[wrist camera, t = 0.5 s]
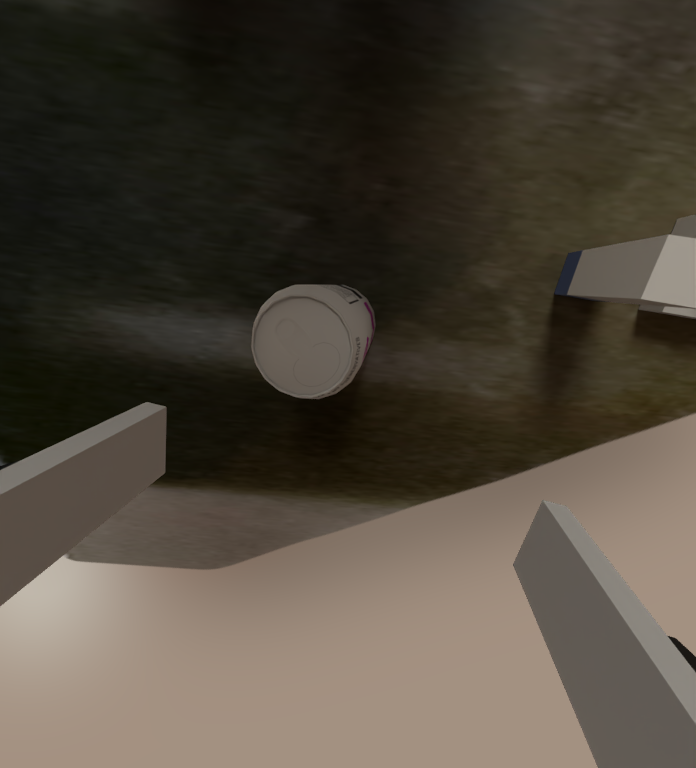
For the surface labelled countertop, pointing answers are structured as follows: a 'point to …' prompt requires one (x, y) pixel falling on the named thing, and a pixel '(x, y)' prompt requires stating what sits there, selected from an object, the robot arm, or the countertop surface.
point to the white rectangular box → (634, 273)
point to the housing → (685, 228)
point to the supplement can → (312, 338)
